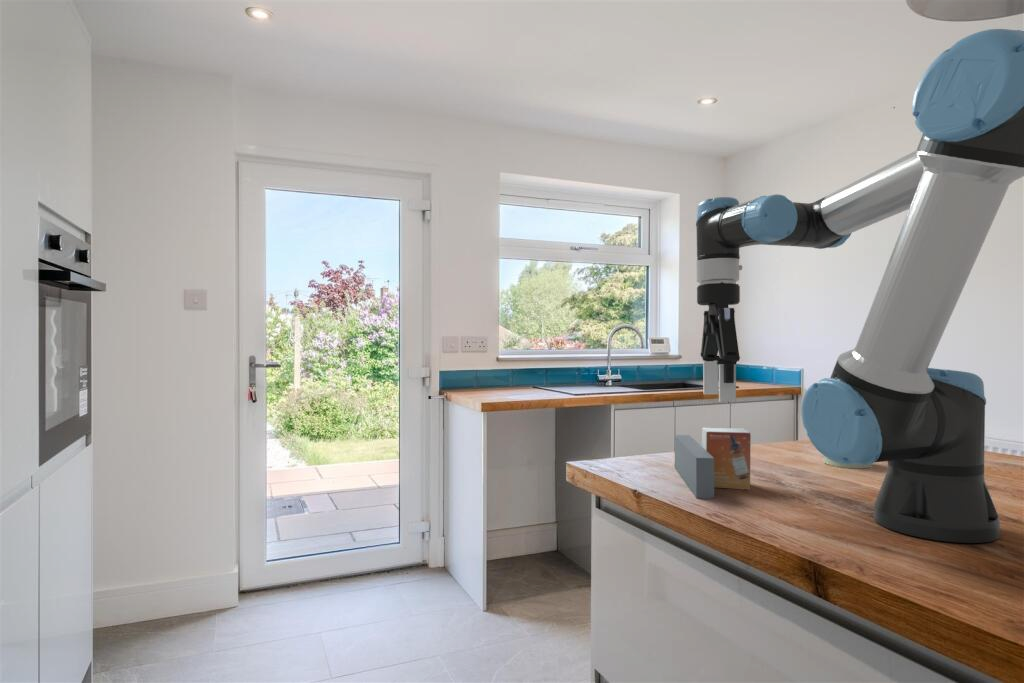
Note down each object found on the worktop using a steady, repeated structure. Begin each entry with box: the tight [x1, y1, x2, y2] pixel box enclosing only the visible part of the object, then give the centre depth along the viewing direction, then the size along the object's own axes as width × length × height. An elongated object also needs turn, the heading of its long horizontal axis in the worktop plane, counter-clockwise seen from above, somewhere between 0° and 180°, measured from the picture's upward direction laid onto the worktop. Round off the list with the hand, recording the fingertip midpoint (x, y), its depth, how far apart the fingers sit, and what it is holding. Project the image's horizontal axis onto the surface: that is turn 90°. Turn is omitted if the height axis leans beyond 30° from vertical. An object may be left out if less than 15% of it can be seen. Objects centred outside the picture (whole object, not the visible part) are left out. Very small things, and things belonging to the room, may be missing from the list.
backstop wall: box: [674, 434, 715, 499], centre depth 118 cm, size 24×3×7 cm, turn 174°
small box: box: [701, 427, 752, 491], centre depth 115 cm, size 8×6×10 cm
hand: (718, 398), depth 114 cm, fingers open, 13 cm apart
